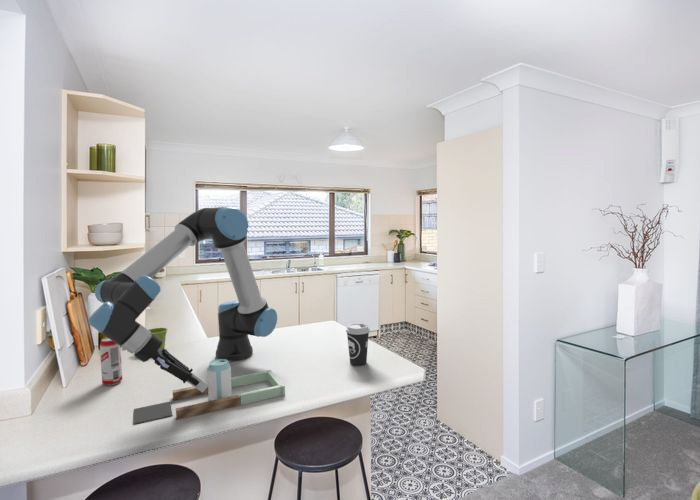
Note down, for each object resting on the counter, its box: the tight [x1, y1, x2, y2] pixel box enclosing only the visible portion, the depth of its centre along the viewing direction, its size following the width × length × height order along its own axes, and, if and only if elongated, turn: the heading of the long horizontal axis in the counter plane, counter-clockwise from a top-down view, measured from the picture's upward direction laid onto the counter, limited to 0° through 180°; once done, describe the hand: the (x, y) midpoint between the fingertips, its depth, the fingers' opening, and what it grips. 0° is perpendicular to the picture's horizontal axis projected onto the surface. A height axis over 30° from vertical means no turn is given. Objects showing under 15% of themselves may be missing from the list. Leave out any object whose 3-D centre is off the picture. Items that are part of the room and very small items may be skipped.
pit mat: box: [133, 401, 173, 425], centre depth 118 cm, size 10×10×1 cm
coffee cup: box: [345, 322, 371, 367], centre depth 156 cm, size 10×10×15 cm
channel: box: [172, 386, 241, 420], centre depth 124 cm, size 18×16×2 cm
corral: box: [231, 369, 286, 406], centre depth 132 cm, size 14×16×3 cm
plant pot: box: [148, 327, 168, 350], centre depth 177 cm, size 9×9×9 cm
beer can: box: [99, 337, 123, 387], centre depth 140 cm, size 6×6×16 cm
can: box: [207, 359, 233, 401], centre depth 126 cm, size 7×7×12 cm
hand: (205, 388), depth 123 cm, fingers closed
